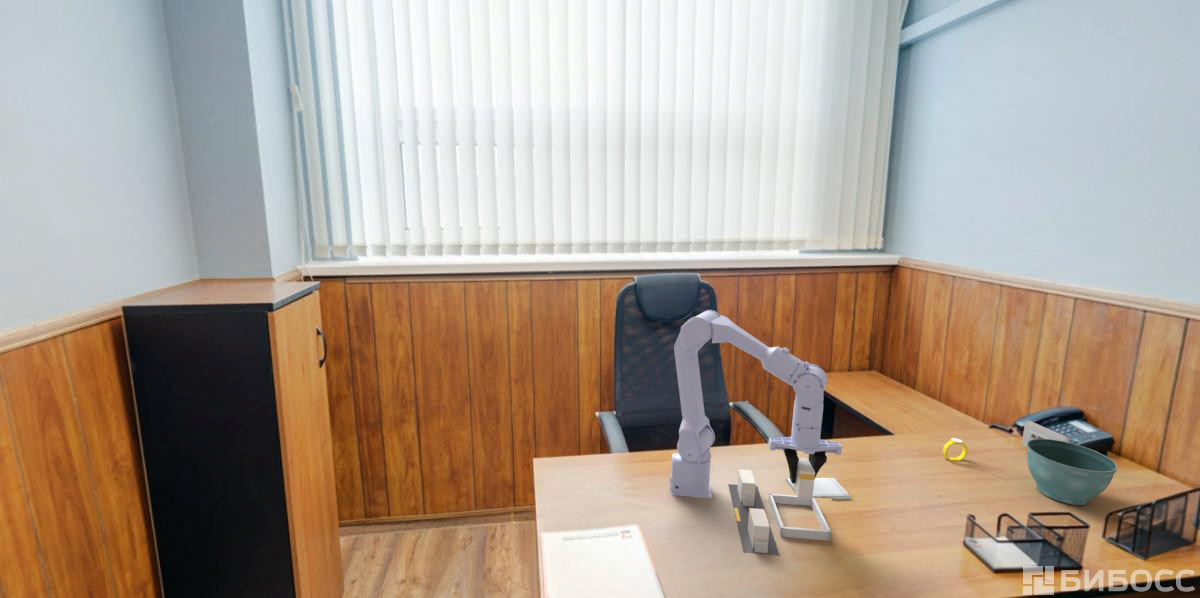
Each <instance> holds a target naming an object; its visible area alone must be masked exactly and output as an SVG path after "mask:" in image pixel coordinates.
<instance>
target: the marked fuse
mask: <svg viewBox="0 0 1200 598" xmlns="http://www.w3.org/2000/svg"><path fill="white" fill-rule="evenodd" d="M798 458H799V461H798V465H797V471H796V482H795V483H792V482H791V483H792V485H793V488H794V490H795V492H796V493H795V492H794V493H795V494H796V496H797V497H803V498H813V489H814V479H815V478H816V477H815V471H814V469H813V467H812V466H811V464H810V462H809V457H808V458H807V457H801V456H800V457H798ZM794 490H793V491H794Z"/></svg>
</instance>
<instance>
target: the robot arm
mask: <svg viewBox="0 0 1200 598" xmlns="http://www.w3.org/2000/svg"><path fill="white" fill-rule="evenodd" d="M711 339H712V340H711ZM710 340H711V344H719V343H722V344H723V343H729V344H731V345H733V346H734V347H736V348H738V349H739V350H742V351H744V352H745V353H747V354H749V355H750V356H751V357H752V356H753V357H754V358H756V359H758V360H759V361H760V362H761V364H762V365H761V366H762V368H763V370H765V371H766V372H768V373H770V374H771V375H773V376H775V377H776V378H778V379H779V380H781V382H782V381H783V382H784V383H785V384H787V385H789V386H791V387H792V388H793V391H794V393H795V399H794V402H793V412H792V413H793V414H792V420H791V421H792V422H791V423H792V424H791V434H790V436H785V437H784V436H783V437H769V438H768V449H769V450H770V451H776V450H782V451H783V453H784V456H785V459H786V461H787V465H788V471H789V478H790V480H791V482H792V483H795V482H796V471H797V465H798V461H799V458H798V452H797V451H800V452H802V453H804V454H807V455H808V460H809V462H810V464H811V466H812V467H813V469H814V471H815V478H817V475H818V474H819V471H820V470H821V469H822V467H823V466H824V464H826V463H827V460H828V457H827V455H826V453H828V454H835V455H838V456H841V455H842V450H843V446H842V445H841V443H840V442H838V441H829V440H825V439H821V432H822V423H823V413H824V399H825V398H824V394H825V393H824V391H825V388H826V386H827V385H828V375H827V373H826V372H825V371H824V369H823V368H821V367H820V366H819V365H818V364H814V363H813V364H811V363H810V362H808V361H807V360H805V362H804V361H803V360H801V359H800V358H798V357H796V356H795V355H793V354H791V353H789V352H790V349H789V348H787V347H785V346H784V347H782V348H781V347H780V346H772V347H769V346H768V345H766V344H765V343H763V342H762V341H760V340H759V339H757V337H754V336H753V335H751V334H750V333H749V332H747V331H746V330H744V329H743V328H741V327H740V326H739V325H737V324H736V323H734V322H733V321H732V320H731V319H729V317H727V316H725V315H721V314H720V313H719V312H717V311H715V310H713V309H707V310H704V311H702V312H701V313H699V314H698V315H696V316H693V317H690V318H689V319H687V321H685V322H684V324H682V325H681V326H680V332H679V334H678V336H677V338H676V340H675V343H674V346H673V351H674V352H673V353H674V359H675V368H676V376H677V383H678V392H679V400H680V409H681V416H682V421H681V423H680V426H679V430H678V435H679V436H678V441H677V443H676V444H677V445H676V449H677V452H675V453H672V454H671V471H670V472H671V473H670V476H669V483H670V489H671V490H670V491H671V495H673V496H684V497H693V498H694V497H695V498H709V499H710V498H711V499H712V498H713V494H712V490H711V482H710V475H711V458H712V454H711V451H710V447H711V446H713V444H714V443H715V440H716V435H715V431H714V430H713V428H712V427H711V425H710V419H709V417H708V416H707V415H706V413H705V407H704V404H705V403H704V398H703V397H704V395H703V389H702V380H701V371H700V363H699V362H700V361H699V355H698V354H699V353H698V352H699V351H700V349H701V348H702V347H703V346H704V345H705V344H706V343H707V342H709V341H710ZM814 480H815V479H814Z"/></svg>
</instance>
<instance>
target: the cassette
mask: <svg viewBox="0 0 1200 598" xmlns="http://www.w3.org/2000/svg"><path fill="white" fill-rule="evenodd" d="M1032 439H1052V440H1059V441H1064V442H1068V443H1071V439H1070V437H1068V436H1065V435H1063V434H1061V433H1059V432H1056V431H1054V430H1052V429H1051V428H1047V427H1045V426H1043V425H1040V424H1038V423H1035V422H1034V421H1032V420H1025V422H1024V428H1023V434H1022V438H1021V446H1023V447H1026V449H1027V442H1028V441H1029V440H1032Z"/></svg>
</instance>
